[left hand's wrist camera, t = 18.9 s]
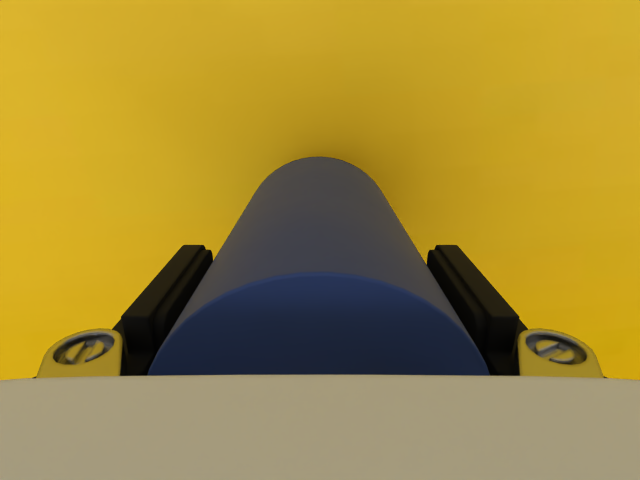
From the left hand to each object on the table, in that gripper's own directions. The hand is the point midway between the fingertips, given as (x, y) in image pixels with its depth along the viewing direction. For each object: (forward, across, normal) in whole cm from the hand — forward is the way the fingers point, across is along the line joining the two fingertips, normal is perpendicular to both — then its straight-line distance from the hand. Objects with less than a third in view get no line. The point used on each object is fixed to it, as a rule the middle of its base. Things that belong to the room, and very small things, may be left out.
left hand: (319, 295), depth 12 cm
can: (+6, 0, 0) cm, 6 cm away
